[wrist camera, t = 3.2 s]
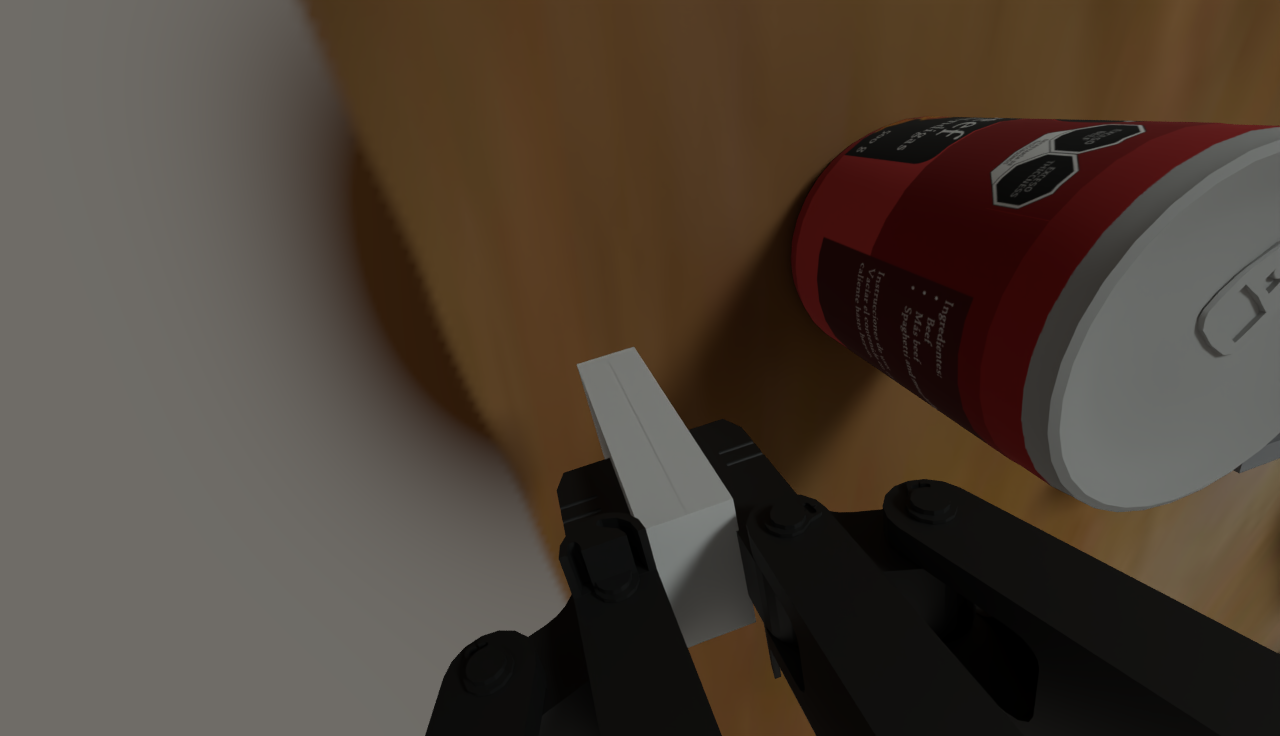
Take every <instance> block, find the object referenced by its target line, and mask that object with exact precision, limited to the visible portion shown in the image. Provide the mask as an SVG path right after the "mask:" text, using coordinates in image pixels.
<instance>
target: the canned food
mask: <svg viewBox="0 0 1280 736" xmlns="http://www.w3.org/2000/svg"><path fill="white" fill-rule="evenodd" d="M791 266H792V274H793V280H794V283H795V286H796V289H797V292H798V295H799V297H800V299H801V301H802V303H803V305H804V307H805V309H806V311H807V312H808V314H809V315H810V317H811V318H812V320H813V322H814V323H815V324H816V325H817V326H818V327H820V328H821V329H822V330H823V331H824V332H825V333H826V334H827V335H829V336H830V337H832V338H833V339H835V340H836V341H837V342H839V343H840V344H842V345H843V346H845V347H846V348H848V349H849V350H851V351H852V352H854V353H855V354H856V355H858V356H859V357H861V358H862V359H864V360H865V361H867V362H868V363H870V364H871V365H873V366H874V367H876V368H877V369H878V370H880V371H881V372H883V373H884V374H886V375H887V376H889V377H890V378H892V379H893V380H895V381H896V382H897V383H899V384H900V385H902V386H903V387H905V388H906V389H908V390H909V391H911V392H912V393H914V394H915V395H917V396H918V397H919V398H921V399H922V400H924V401H925V402H927V403H928V404H930V405H931V406H933V407H934V408H936V409H937V410H938V411H940V412H941V413H943V414H944V415H946V416H947V417H949V418H950V419H952V420H953V421H955V422H956V423H958V424H959V425H960V426H962V427H963V428H965V429H966V430H968V431H969V432H971V433H972V434H974V435H975V436H977V437H978V438H979V439H981V440H982V441H984V442H985V443H987V444H988V445H990V446H991V447H993V448H994V449H996V450H997V451H998V452H1000V453H1001V454H1003V455H1004V456H1006V457H1007V458H1009V459H1010V460H1012V461H1014V462H1016V463H1017V464H1019V465H1021V466H1022V467H1024V468H1025V469H1027V470H1028V471H1030V472H1031V473H1033V474H1034V475H1036V476H1037V477H1039V478H1040V479H1042V480H1043V481H1045V482H1046V483H1048V484H1049V485H1051V486H1053V487H1055V488H1057V489H1058V490H1060V491H1062V492H1064V493H1066V494H1068V495H1070V496H1073V497H1074V498H1076V499H1078V500H1080V501H1082V502H1084V503H1086V504H1088V505H1089V506H1091V507H1093V508H1096V509H1102V510H1108V511H1114V512H1125V511H1138V510H1146V509H1149V508H1153V507H1157V506H1160V505H1164V504H1168V503H1171V502H1174V501H1176V500H1178V499H1181V498H1183V497H1185V496H1187V495H1190V494H1192V493H1194V492H1197V491H1199V490H1201V489H1203V488H1204V487H1206V486H1208V485H1209V484H1211V483H1213V482H1214V481H1216V480H1218V479H1220V478H1221V477H1223V476H1225V475H1226V474H1228V473H1230V472H1231V471H1233V470H1234V469H1235V468H1237V467H1238V466H1239V465H1241V464H1242V463H1243V462H1245V461H1246V460H1248V459H1249V458H1250V457H1252V456H1253V455H1254V454H1256V453H1257V452H1258V451H1260V450H1261V449H1262V448H1263V447H1264V446H1266V445H1267V444H1268V443H1269V442H1270V441H1271V440H1272V439H1273V438H1275V437H1276V436H1277V435H1278V434H1279V433H1280V126H1264V125H1233V124H1223V123H1199V122H1153V121H1107V120H1061V119H1015V118H969V117H919V118H911V119H905V120H902V121H899V122H896V123H893V124H890V125H887V126H885V127H882V128H880V129H878V130H876V131H874V132H871V133H870V134H868V135H866V136H864V137H863V138H861V139H859V140H858V141H856V142H854V143H852V144H851V145H850V146H849V147H847V148H846V149H845V150H844V151H843V152H842V153H840V154H839V155H838V156H837V157H836V158H835V159H833V161H832V162H831V163H830V164H829V165H828V167H827V168H826V169H825V170H824V171H823V172H822V174H821V175H820V176H819V177H818V179H817V180H816V182H815V184H814V185H813V187H812V189H811V190H810V192H809V193H808V195H807V197H806V199H805V201H804V204H803V206H802V208H801V211H800V213H799V216H798V218H797V222H796V226H795V230H794V234H793V239H792V251H791Z"/></svg>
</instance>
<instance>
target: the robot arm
mask: <svg viewBox="0 0 1280 736" xmlns="http://www.w3.org/2000/svg"><path fill="white" fill-rule="evenodd" d="M577 367H578V370H579V374H580V377H581V380H582V384H583V387H584V390H585V394H586V397H587V401H588V404H589V407H590V411H591V414H592V417H593V421H594V424H595V428H596V431H597V434H598V438H599V441H600V444H601V448H602V451H603V454H604V457H605V460H601V461H598V462H595V463H592V464H589V465H586V466H583V467H580V468H577V469H574V470H571V471H568V472H565V473H563V476H562V478H561V481H560V484H559V486H558V489H557V494H558V499H559V505H560V509H561V515H562V520H563V523H564V530H565V535H566V537H565V538H564V540H563V542H562V543H561V545H560V551H559V560H560V563H561V566H562V569H563V571H564V574H565V577H566V579H567V582H568V585H569V587H570V590H571V593H572V594H571V597H570V599H569V600H568V602H567V604H566V606H565V607H564V608H563V609H562V611H561V612H560V613H559V614H558V615H557V616H556V617H555V618H554V619H553V620H551V621H550V622H549V623H548V624H547V625H545V626H544V627H542V628H541V629H540V630H538V631H536V632H535V633H534V634H532V635H531V636H529V637H527V636H525V635H522V634H521V633H518V632H516V631H496V632H493V633H490V634H487V635H484V636H481V637H480V638H478V639H477V640H475V641H474V642H472V643H471V644H469V645H468V646H466V647H465V648H464V649H463V650H462V651H461V652H460V653H459V654H458V655H457V657H456V658H455V659H454V660H453V661H452V662H451V664H450V666H449V668H448V670H447V672H446V674H445V676H444V678H443V681H442V684H441V687H440V690H439V694H438V697H437V700H436V703H435V706H434V709H433V713H432V716H431V719H430V722H429V725H428V728H427V732H426V735H425V736H722V735H721V733H720V730H719V727H718V725H717V722H716V720H715V717H714V715H713V712H712V709H711V707H710V704H709V702H708V699H707V697H706V694H705V691H704V689H703V686H702V684H701V681H700V679H699V676H698V673H697V671H696V668H695V666H694V663H693V661H692V658H691V655H690V653H689V650H688V647H691V646H693V645H696V644H699V643H701V642H704V641H707V640H709V639H712V638H715V637H717V636H720V635H723V634H725V633H728V632H730V631H733V630H736V629H738V628H741V627H744V626H746V625H749V624H752V623H754V622H756V619H755V614H754V609H753V604H754V606H755V608H756V610H757V611H758V613H759V615H760V617H761V619H762V620H763V622H764V627H765V632H766V638H767V643H768V649H769V655H770V660H771V666H772V670H773V673H774V677H775V679H776V678H779V677H781V672H780V669H781V671H782V672H783V674H784V676H785V678H786V680H787V682H788V684H789V685H790V687H791V689H792V691H793V693H794V695H795V697H796V699H797V700H798V702H799V704H800V706H801V708H802V710H803V712H804V714H805V715H806V717H807V719H808V721H809V723H810V725H811V727H812V729H813V730H814V732H815V734H816V736H1280V654H1278V653H1276V652H1274V651H1272V650H1270V649H1268V648H1266V647H1264V646H1262V645H1261V644H1259V643H1257V642H1255V641H1253V640H1251V639H1249V638H1247V637H1245V636H1243V635H1241V634H1239V633H1238V632H1236V631H1234V630H1232V629H1230V628H1228V627H1226V626H1224V625H1222V624H1220V623H1218V622H1216V621H1215V620H1213V619H1211V618H1209V617H1207V616H1205V615H1203V614H1201V613H1199V612H1197V611H1195V610H1193V609H1192V608H1190V607H1188V606H1186V605H1184V604H1182V603H1180V602H1178V601H1176V600H1174V599H1172V598H1170V597H1169V596H1167V595H1165V594H1163V593H1161V592H1159V591H1157V590H1155V589H1153V588H1151V587H1149V586H1147V585H1146V584H1144V583H1142V582H1140V581H1138V580H1136V579H1134V578H1132V577H1130V576H1128V575H1126V574H1124V573H1123V572H1121V571H1119V570H1117V569H1115V568H1113V567H1111V566H1109V565H1107V564H1105V563H1103V562H1101V561H1100V560H1098V559H1096V558H1094V557H1092V556H1090V555H1088V554H1086V553H1084V552H1082V551H1080V550H1078V549H1077V548H1075V547H1073V546H1071V545H1069V544H1067V543H1065V542H1063V541H1061V540H1059V539H1057V538H1055V537H1054V536H1052V535H1050V534H1048V533H1046V532H1044V531H1042V530H1040V529H1038V528H1036V527H1034V526H1033V525H1031V524H1029V523H1027V522H1025V521H1023V520H1021V519H1019V518H1017V517H1015V516H1013V515H1011V514H1010V513H1008V512H1006V511H1004V510H1002V509H1000V508H998V507H996V506H994V505H992V504H990V503H988V502H987V501H985V500H983V499H981V498H979V497H977V496H975V495H973V494H971V493H969V492H967V491H965V490H964V489H962V488H960V487H957V486H954V485H951V484H949V483H946V482H943V481H935V480H928V479H922V480H913V481H907V482H904V483H902V484H899V485H897V486H894V487H893V488H892V489H891V490H890V491H889V492H888V493H887V494H886V495H885V499H884V503H883V509H881V510H871V511H861V512H832V511H829V510H828V509H827V508H826V507H825V506H823V505H822V504H821V503H819V502H818V501H817V500H815V499H812V498H809V497H806V496H803V495H797V494H796V493H795V491H794V490H793V489H792V488H791V487H790V485H789V484H788V483H787V482H786V481H785V479H784V478H783V477H782V476H781V475H780V473H779V472H778V471H777V470H776V469H775V467H774V466H773V465H772V464H771V462H770V461H769V460H768V459H767V458H766V456H765V455H763V454H762V452H761V450H760V449H759V448H758V447H757V446H756V444H755V443H754V444H753V441H752V440H751V438H750V437H749V436H748V435H747V433H746V432H745V431H744V430H743V429H742V427H740V426H737V425H735V424H733V423H731V422H729V421H726V420H724V419H721V420H718V421H715V422H712V423H709V424H706V425H703V426H700V427H696V428H693V429H690V430H688V429H687V427H686V426H685V424H684V423H683V421H682V420H681V418H680V417H679V415H678V414H677V412H676V411H675V409H674V408H673V406H672V404H671V403H670V401H669V400H668V398H667V397H666V395H665V394H664V392H663V391H662V389H661V388H660V386H659V385H658V383H657V381H656V380H655V378H654V377H653V375H652V374H651V372H650V371H649V369H648V368H647V366H646V365H645V363H644V362H643V360H642V358H641V357H640V355H639V354H638V352H637V351H636V349H635V348H634V347H632V348H629V349H626V350H622V351H619V352H616V353H612V354H609V355H606V356H603V357H599V358H596V359H593V360H590V361H586V362H583V363H580V364H577ZM752 602H753V603H752Z"/></svg>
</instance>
